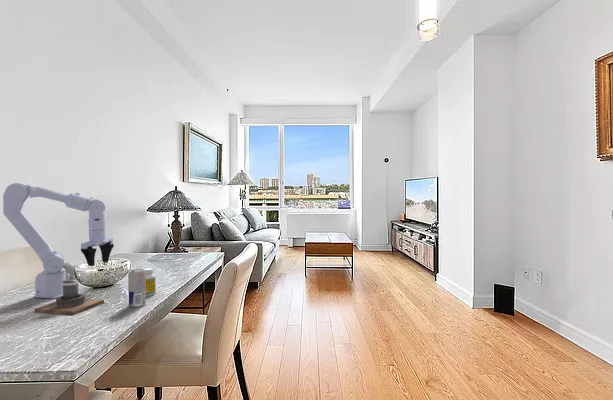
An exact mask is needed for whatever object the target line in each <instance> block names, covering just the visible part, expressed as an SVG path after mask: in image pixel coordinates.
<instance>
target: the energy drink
mask: <svg viewBox="0 0 613 400" xmlns="http://www.w3.org/2000/svg"><path fill="white" fill-rule="evenodd" d="M144 269H145V268H140V269H139V268H138V269H137V268H136V269H131V270H129V271H128V274H127V275H128V276H127V281H128V282H127V284H128V285H127V286H128V290H127V291H128V307H130V308H133V309H136V308H142V307H144V306H146V305H147V300H146V297H147V296H146V279H145V270H144Z"/></svg>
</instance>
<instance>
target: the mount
mask: <svg viewBox="0 0 613 400" xmlns="http://www.w3.org/2000/svg"><path fill="white" fill-rule="evenodd" d="M104 303H105V300H104V299H93V298H86V295H85V294H84V293H78V298H74V299H66V300H64V299H63V296H60V297H57V298H55V301H54V302H51V303H48V304H44V305H42V306H39V307H37V308H34V312H35V313H42V314H43V313H47V314H57V315H58V314H59V315H71V316H72V315H73V316H74V315H78V314H79V313H82V312H85V311H88V310H89V309H92V308H95V307H98V306H99V305H103V304H104Z"/></svg>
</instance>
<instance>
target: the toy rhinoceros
mask: <svg viewBox="0 0 613 400" xmlns="http://www.w3.org/2000/svg"><path fill="white" fill-rule="evenodd" d="M76 266H77V265H76V264H75V263H73V262H69V261H67V262H64V266H63V269H65V272H66V280H70V279H75V277H74V268H75V267H76Z"/></svg>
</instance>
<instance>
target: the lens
mask: <svg viewBox="0 0 613 400" xmlns="http://www.w3.org/2000/svg"><path fill="white" fill-rule="evenodd" d="M78 294H79V279H77V278H76V279H70V280H65V281H63V299H64V300H66V299H74V298H78Z"/></svg>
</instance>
